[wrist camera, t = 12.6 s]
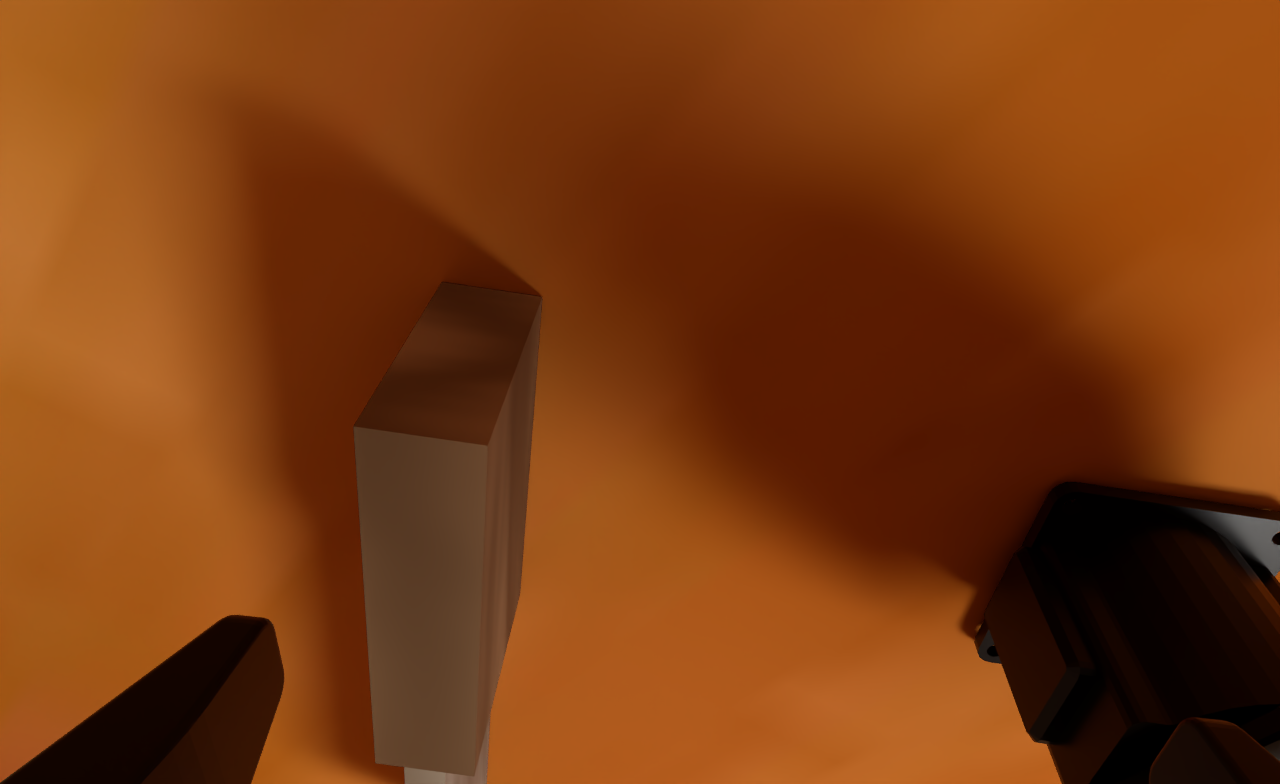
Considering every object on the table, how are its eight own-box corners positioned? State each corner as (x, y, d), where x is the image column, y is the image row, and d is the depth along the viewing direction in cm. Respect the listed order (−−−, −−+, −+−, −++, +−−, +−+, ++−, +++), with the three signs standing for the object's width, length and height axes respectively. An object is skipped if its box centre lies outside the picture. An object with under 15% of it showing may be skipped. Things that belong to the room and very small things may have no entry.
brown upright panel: (542, 296, 20) (488, 446, 15) (503, 817, 32) (465, 999, 27) (441, 282, 20) (353, 426, 15) (439, 809, 32) (390, 989, 27)
